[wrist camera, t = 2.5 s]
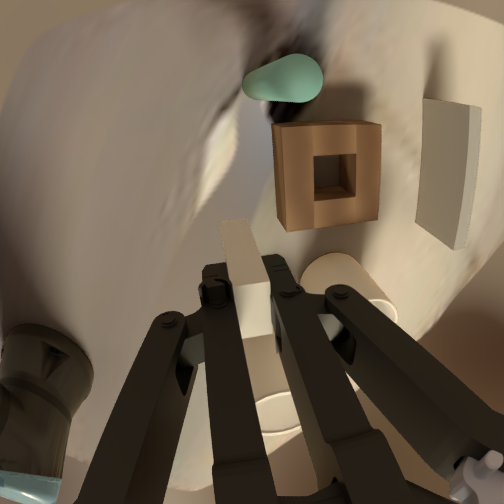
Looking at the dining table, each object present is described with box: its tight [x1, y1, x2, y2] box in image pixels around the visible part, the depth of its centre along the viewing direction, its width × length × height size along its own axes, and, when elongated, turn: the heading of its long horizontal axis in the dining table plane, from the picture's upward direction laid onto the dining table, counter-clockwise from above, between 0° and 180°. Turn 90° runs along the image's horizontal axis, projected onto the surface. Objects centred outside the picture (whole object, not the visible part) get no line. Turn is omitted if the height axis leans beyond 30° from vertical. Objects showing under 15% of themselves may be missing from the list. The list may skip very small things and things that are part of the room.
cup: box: [300, 253, 398, 324], centre depth 36 cm, size 8×12×10 cm
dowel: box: [242, 54, 323, 102], centre depth 22 cm, size 3×3×13 cm
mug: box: [242, 329, 301, 436], centre depth 40 cm, size 14×10×11 cm
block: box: [271, 120, 381, 232], centre depth 31 cm, size 10×10×4 cm
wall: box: [415, 98, 482, 251], centre depth 31 cm, size 2×16×8 cm, turn 5°
